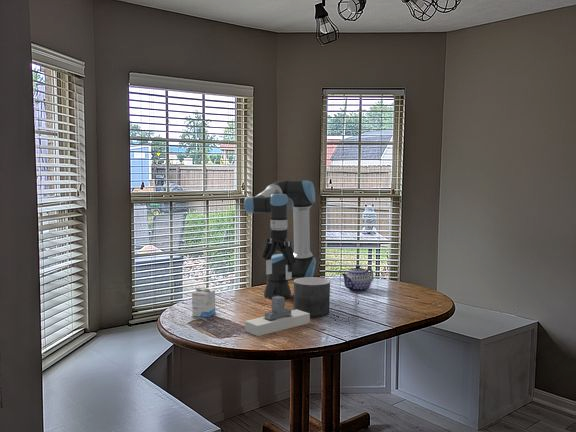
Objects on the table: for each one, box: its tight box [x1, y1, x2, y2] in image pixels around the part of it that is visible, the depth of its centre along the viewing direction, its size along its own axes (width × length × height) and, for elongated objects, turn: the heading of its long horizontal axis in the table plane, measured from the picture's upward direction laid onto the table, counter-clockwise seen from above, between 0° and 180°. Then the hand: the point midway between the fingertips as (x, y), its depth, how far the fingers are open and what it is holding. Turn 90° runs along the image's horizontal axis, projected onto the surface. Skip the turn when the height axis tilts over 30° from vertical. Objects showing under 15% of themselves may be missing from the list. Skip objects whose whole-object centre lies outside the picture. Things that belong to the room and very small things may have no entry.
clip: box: [264, 296, 291, 321], centre depth 232 cm, size 12×4×13 cm, turn 131°
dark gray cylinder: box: [293, 276, 331, 318], centre depth 257 cm, size 18×18×16 cm
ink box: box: [191, 287, 216, 318], centre depth 251 cm, size 9×8×13 cm
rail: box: [244, 309, 311, 337], centre depth 233 cm, size 30×9×4 cm, turn 131°
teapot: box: [341, 264, 374, 293], centre depth 304 cm, size 25×15×15 cm, turn 125°
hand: (278, 276), depth 232 cm, fingers open, 13 cm apart
